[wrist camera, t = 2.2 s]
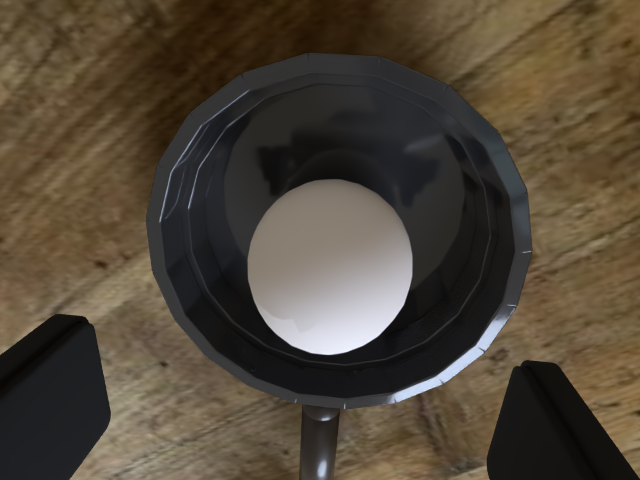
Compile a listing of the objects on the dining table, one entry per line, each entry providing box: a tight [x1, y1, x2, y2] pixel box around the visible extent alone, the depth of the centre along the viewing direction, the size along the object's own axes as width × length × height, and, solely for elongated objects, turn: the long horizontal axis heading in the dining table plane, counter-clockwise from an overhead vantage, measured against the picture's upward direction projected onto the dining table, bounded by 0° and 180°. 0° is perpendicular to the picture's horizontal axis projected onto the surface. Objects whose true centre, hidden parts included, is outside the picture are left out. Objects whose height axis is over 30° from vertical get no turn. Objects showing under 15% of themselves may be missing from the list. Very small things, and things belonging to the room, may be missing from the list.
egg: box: [248, 179, 412, 355], centre depth 15 cm, size 6×6×8 cm
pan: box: [146, 52, 532, 409], centre depth 16 cm, size 14×14×4 cm
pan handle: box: [299, 404, 340, 480], centre depth 20 cm, size 9×2×2 cm, turn 177°
